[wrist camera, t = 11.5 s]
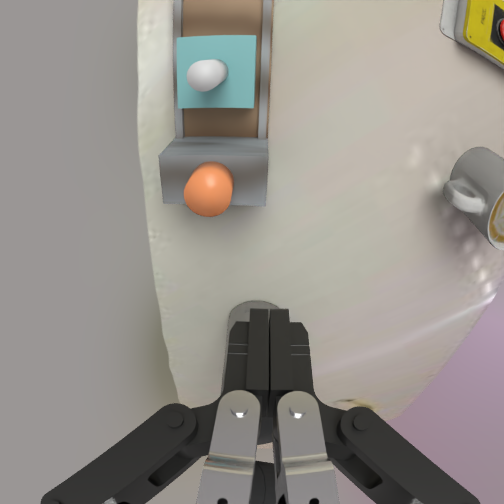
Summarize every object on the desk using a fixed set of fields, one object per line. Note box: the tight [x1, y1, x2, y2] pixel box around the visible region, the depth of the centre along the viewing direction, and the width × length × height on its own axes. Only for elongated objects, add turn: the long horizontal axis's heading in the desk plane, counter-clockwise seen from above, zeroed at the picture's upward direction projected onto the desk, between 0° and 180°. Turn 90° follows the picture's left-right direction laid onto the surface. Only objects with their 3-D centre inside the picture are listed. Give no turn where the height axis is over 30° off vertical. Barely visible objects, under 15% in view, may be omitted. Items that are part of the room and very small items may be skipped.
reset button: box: [184, 161, 234, 217], centre depth 27 cm, size 4×4×3 cm
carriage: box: [177, 35, 257, 109], centre depth 23 cm, size 7×7×10 cm
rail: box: [159, 0, 274, 206], centre depth 24 cm, size 32×10×8 cm, turn 178°
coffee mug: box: [443, 147, 504, 250], centre depth 30 cm, size 13×10×10 cm
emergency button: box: [440, 0, 504, 70], centre depth 20 cm, size 9×4×15 cm
